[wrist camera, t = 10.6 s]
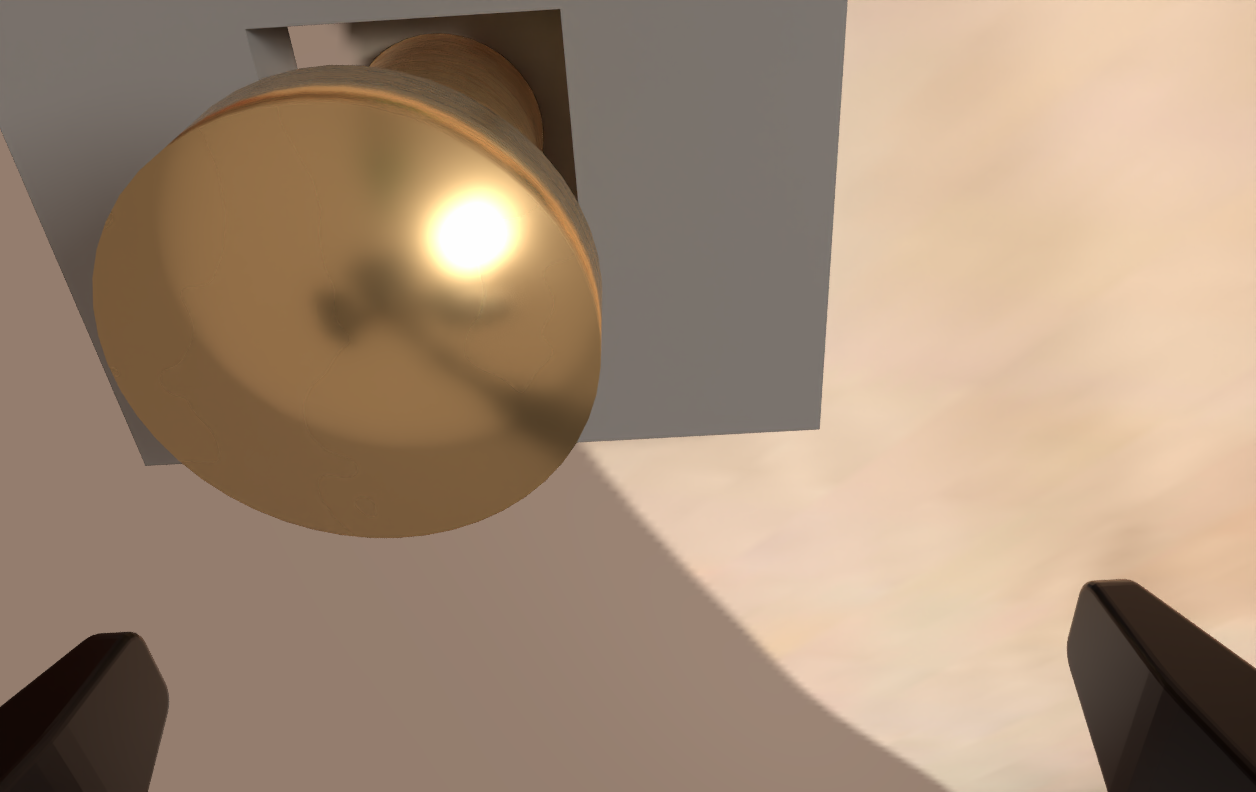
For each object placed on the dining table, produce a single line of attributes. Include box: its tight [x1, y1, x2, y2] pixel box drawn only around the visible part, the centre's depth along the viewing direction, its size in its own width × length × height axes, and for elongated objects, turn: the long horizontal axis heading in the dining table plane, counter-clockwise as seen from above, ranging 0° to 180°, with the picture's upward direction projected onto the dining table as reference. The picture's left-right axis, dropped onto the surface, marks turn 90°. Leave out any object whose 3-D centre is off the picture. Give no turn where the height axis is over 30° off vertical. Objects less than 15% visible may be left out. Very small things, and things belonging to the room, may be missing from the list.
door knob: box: [92, 34, 602, 538], centre depth 15 cm, size 6×6×8 cm
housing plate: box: [0, 0, 847, 466], centre depth 18 cm, size 12×14×2 cm
